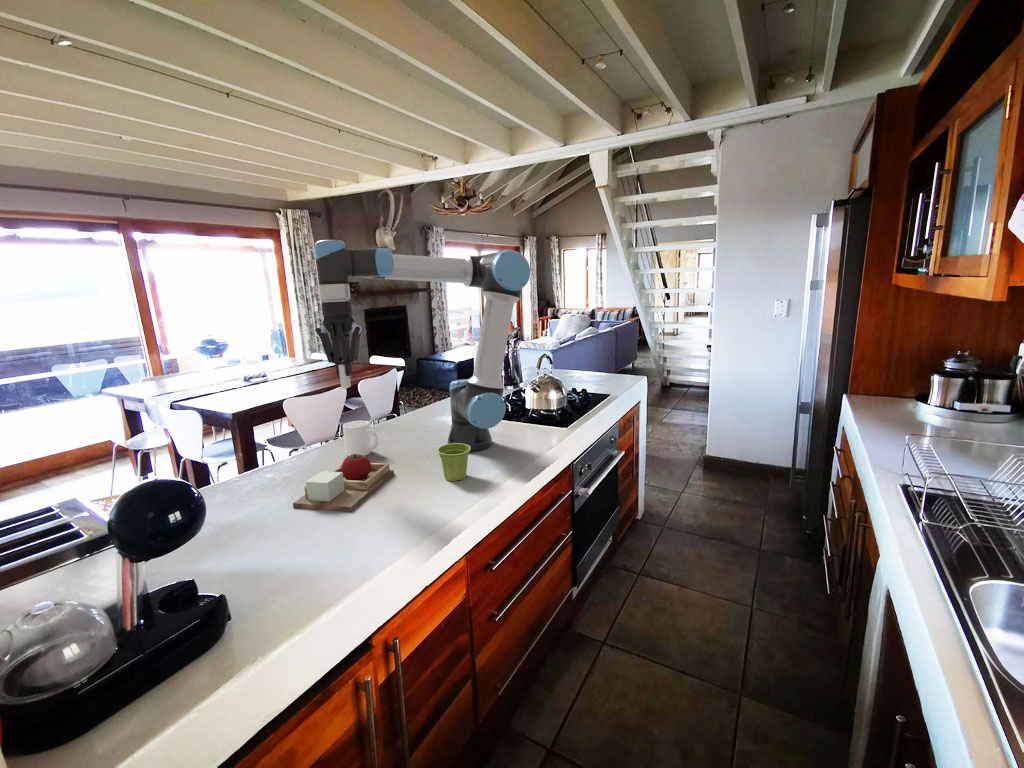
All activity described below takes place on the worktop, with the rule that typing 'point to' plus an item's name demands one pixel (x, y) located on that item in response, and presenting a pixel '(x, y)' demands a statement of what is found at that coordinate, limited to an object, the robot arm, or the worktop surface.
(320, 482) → the block
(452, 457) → the plant pot
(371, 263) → the robot arm
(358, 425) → the mug
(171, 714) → the worktop surface
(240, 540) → the worktop surface
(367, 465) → the tomato
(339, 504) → the housing base
